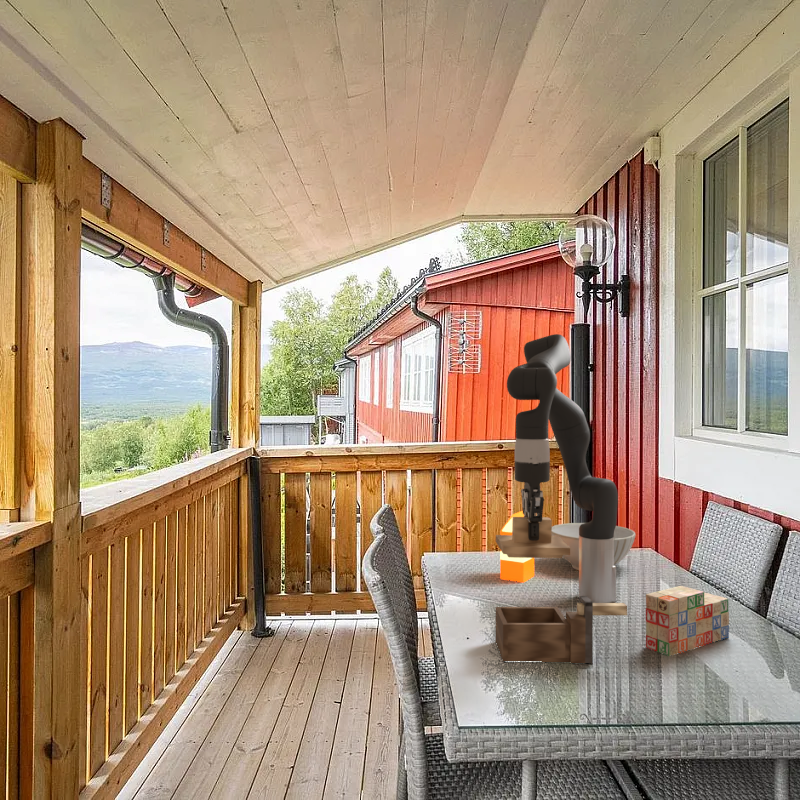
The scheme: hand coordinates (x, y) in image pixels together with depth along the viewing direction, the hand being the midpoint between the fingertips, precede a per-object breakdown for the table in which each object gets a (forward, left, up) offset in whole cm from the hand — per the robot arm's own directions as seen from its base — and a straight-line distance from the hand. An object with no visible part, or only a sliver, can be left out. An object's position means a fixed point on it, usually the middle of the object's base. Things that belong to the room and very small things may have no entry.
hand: (532, 538), depth 151 cm
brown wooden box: (-2, +1, -25) cm, 25 cm away
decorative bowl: (-33, -73, -25) cm, 84 cm away
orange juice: (-7, -61, -25) cm, 66 cm away
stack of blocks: (-36, -5, -25) cm, 45 cm away
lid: (0, 0, -3) cm, 3 cm away
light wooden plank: (-14, +5, -15) cm, 21 cm away
